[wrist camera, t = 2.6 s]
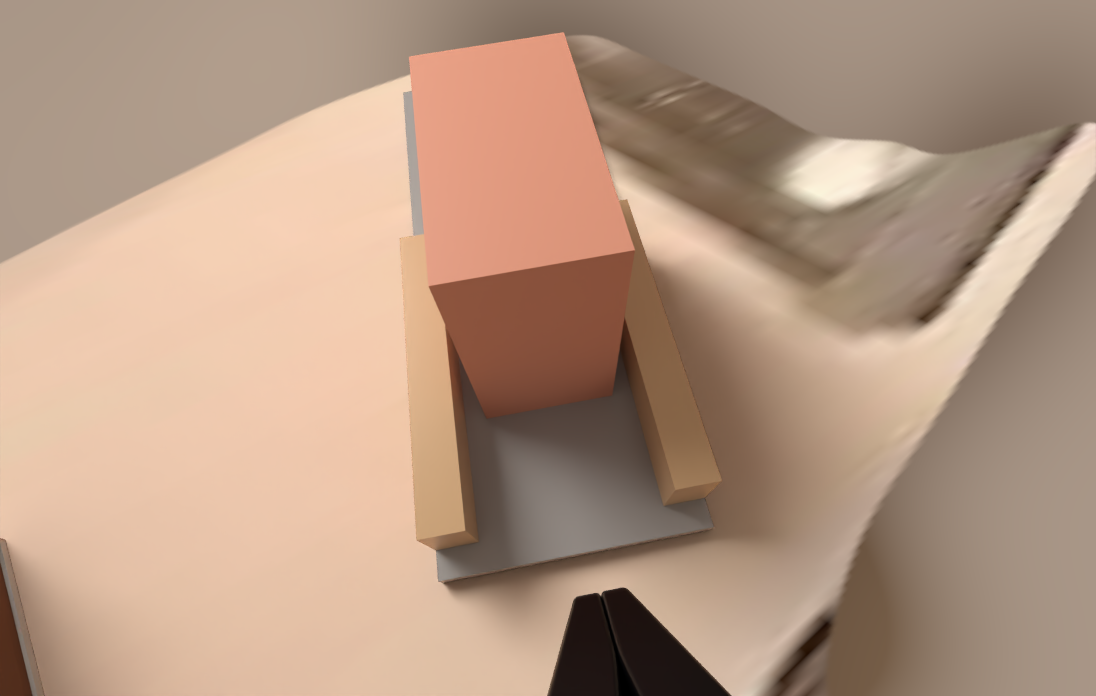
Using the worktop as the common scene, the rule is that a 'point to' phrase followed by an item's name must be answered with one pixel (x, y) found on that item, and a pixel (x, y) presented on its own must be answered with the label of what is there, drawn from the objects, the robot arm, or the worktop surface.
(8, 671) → the food container
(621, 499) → the chute
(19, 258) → the worktop surface
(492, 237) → the block
